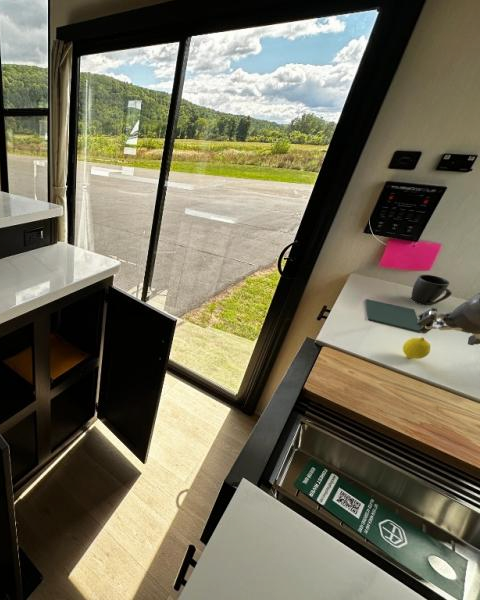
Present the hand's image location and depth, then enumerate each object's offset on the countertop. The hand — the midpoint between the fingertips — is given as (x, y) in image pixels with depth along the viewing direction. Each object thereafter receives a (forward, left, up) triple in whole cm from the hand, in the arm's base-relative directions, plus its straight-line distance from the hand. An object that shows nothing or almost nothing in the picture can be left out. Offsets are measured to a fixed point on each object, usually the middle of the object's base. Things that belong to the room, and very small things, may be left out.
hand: (446, 335), depth 80 cm
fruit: (-1, -12, -16) cm, 20 cm away
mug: (-10, -54, -16) cm, 57 cm away
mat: (+1, -38, -16) cm, 41 cm away
